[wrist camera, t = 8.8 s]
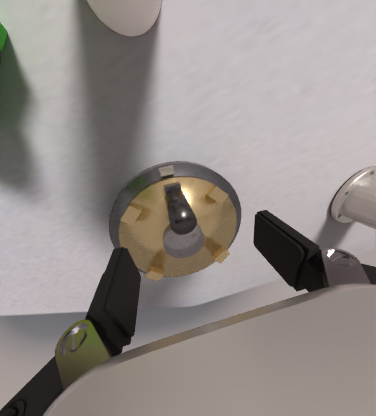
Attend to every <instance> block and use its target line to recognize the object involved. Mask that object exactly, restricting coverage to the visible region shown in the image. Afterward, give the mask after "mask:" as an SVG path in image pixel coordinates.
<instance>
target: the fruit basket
mask: <svg viewBox="0 0 376 416" xmlns="http://www.w3.org/2000/svg"><path fill="white" fill-rule="evenodd" d="M6 37H7V31H6V29H5V28H4V27H3V25H2V24H1V23H0V52H1V51H2V49H3V48H4V45H5V41H6ZM0 62H1V59H0Z"/></svg>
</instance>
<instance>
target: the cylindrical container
mask: <svg viewBox="0 0 376 416" xmlns="http://www.w3.org/2000/svg"><path fill="white" fill-rule="evenodd" d="M87 2H88V4H89V6H90V7H91V9H92V10H93V12H94V13H95V14H96V16H97V17H98V18H99V19H100V20H101V21H102V22H103V23H104V24H105V25H106V26H107V27H109V28H110V29H111V30H113V31H115V32H117V33H119V34H121V35H125V36H139V35H142V34H144V33H145V32H147V31H148V30H149V29H150V28H151V27H152V26H153V25H154V23H155V21H156V19H157V18H158V15H159V12H160V8H161V2H162V0H87Z"/></svg>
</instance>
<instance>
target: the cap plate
mask: <svg viewBox="0 0 376 416" xmlns="http://www.w3.org/2000/svg"><path fill="white" fill-rule="evenodd" d="M173 176H194V177H198V178H202V179H205V180H207V181H209V182H211V183H213V184H215V185H216V186H217V187H219V188H220V189H221V190H223V191H224V192H225V193H227V194H228V195H229V196H228V197H229V198H230V200H231V201H232V203H233V205H234V208H235V211H236V216H237V226H236V231H235V235H234V238H233V240H232V242H231V244H232V243H233V241H234V239H235V237H236V235H237V233H238V230H239V227H240V222H241V207H240V202H239V199H238V196H237V194H236V192H235V190H234V189H233V187H232V186H231V185H230V183H229V182H228V181H227V180H226V179H225V178H223V177H222V176H221V175H219V174H218V173H216V172H215V171H213V170H211V169H209V168H207V167H205V166H203V165H200V164H196V163H191V162H182V161H176V162H167V163H163V164H159V165H156V166H153V167H151V168H148V169H146V170H145V171H143V172H141V173H139V174H138V175H137V176H135V177H134V178H133V179H132V180H131V181H130V182H129V183H128V184H127V185H126V186H125V187H124V189H123V190H122V191H121V193H120V194H119V196H118V198H117V200H116V202H115V204H114V206H113V208H112V212H111V215H110V221H109V232H110V237H111V241H112V243H113V246H114V248H115V249H116V248H120V247H121V245H120V241H119V226H120V222H121V221H120V219H121V217H122V215H123V213H124V211H125V209H126V207H127V205H128V204H129V202H130V201H131V200H132V198H133V197H134V196H135V195H136V194H137V193H138V192H140V191H141V190H142V189H143V188H145V187H146V186H148V185H150V184H151V183H153V182H156V181H158V180H160V179H164V178H168V177H173ZM231 244H230V246H231ZM230 246H229V247H230ZM229 247H228V248H229ZM137 269H138V270H139V271H141V272H144V273H146V272H145V271H143V270H141V269H139V268H138V267H137Z"/></svg>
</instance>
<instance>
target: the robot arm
mask: <svg viewBox="0 0 376 416" xmlns="http://www.w3.org/2000/svg"><path fill="white" fill-rule="evenodd" d="M331 215H332V217H333V219H335V220H336V221H338V222H340V223H350V222H353V221H357V222H359V223H362V224H364V225H366V226H369V227H371V228H373V229H376V167H375V166H374V167H369V168H366V169H364V170H362V171H360V172H358V173H357V174H355V175H354V176H353V177H351V178H350V179H349V180H348V181H347V182H346V183H345V184H344V185H343V186H342V188H341V189H340V190H339V192H338V193H337V195H336V196H335V198H334V201H333V203H332V207H331ZM254 245H255V247H256V248H257V249H258V250H259V252H260V253H261V254H262V255H263V256H264V257H265V258H266V260H267V261H268V262H269V263H270V264H271V265H272V266H273V268H274V269H275V270H276V271H277V272H278V273H279V274H280V276H281V277H282V278H283V279H284V280H285V281H286V282H287V284H288V285H290V286H291V287H292V286H293V288H294V289H295V290H296V291H300V290H303V289H306V290H307V291H308V292H309V293H306V294H302V295H299V296H296V297H292V298H289V299H286V300H283V301H280V302H276V303H273V304H270V305H267V306H264V307H260V308H257V309H254V310H251V311H248V312H245V313H242V314H238V315H236V316H232V317H229V318H226V319H223V320H220V321H217V322H213V323H210V324H207V325H204V326H201V327H198V328H195V329H192V330H189V331H186V332H182V333H179V334H176V335H173V336H170V337H167V338H164V339H161V340H158V341H155V342H152V343H149V344H146V345H144V346H141V347H138V348H135V349H132V350H129V351H127V352H124V353H122V354H121V352H122V348H123V346H126V345H129V344H130V342H131V337H132V336H133V335H134V332H135V324H136V315H137V306H138V298H139V289H140V280H141V276H140V273H139V271H138V269H137V267H136V265H135V263H134V261H133V259H132V257H131V255H130V253H129V251H128V249H127V248H124V247H120V248H116V249H114V250H113V252H112V255H111V258H110V260H109V263H108V265H107V268H106V271H105V272H104V273H103V275H102V277H101V280H100V282H99V285H98V287H97V290H96V292H95V295H94V298H93V300H92V303H91V305H90V308H89V310H88V313H87V316H86V318H85V320H81V321H79V322H76V323H75V324H74V325H72V326H71V327H70V328H69V329H68V330H67V331H66V332H65V333H64V334H63V335H62V337H61V338H60V340H59V342H58V344H57V346H56V349H55V356H54V357H53V358H52V359H51V360H50V361H49V362H48V363H47V365H45V366H44V367H43V368H42V369H41V370H40V371H39V372H38V373H37V374H36V375H35V376H34V377H33V378H32V379H31V380H30V381H29V382H28V383H27V384H26V385H25V386H24V387H23V388H22V389H21V390H20V391H19V392H18V393H17V394H16V395H15V396H14V397H13V398H12V399H11V400H10V401H9V402H8V403H7V404H6V405H5V406H4V407H3V408H2V409H1V410H0V416H376V267H373V266H369V265H365V264H361V263H360V261H359V260H358V259H357V258H356V257H355V256H354V255H352V254H350V253H349V252H347V251H344V250H341V249H337V248H326V249H323V250H320V249H319V246H318V245H316V244H315V243H313V242H312V241H311V240H309V239H308V238H306V237H305V236H303V235H302V234H300V233H299V232H297V231H296V230H295V229H293V228H292V227H290V226H289V225H287V224H286V223H284V222H283V221H282V220H280V219H279V218H277V217H276V216H274V215H273V214H271V213H270V212H268V211H267V210H263V211H259V212H257V214H256V215H255V225H254Z"/></svg>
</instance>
